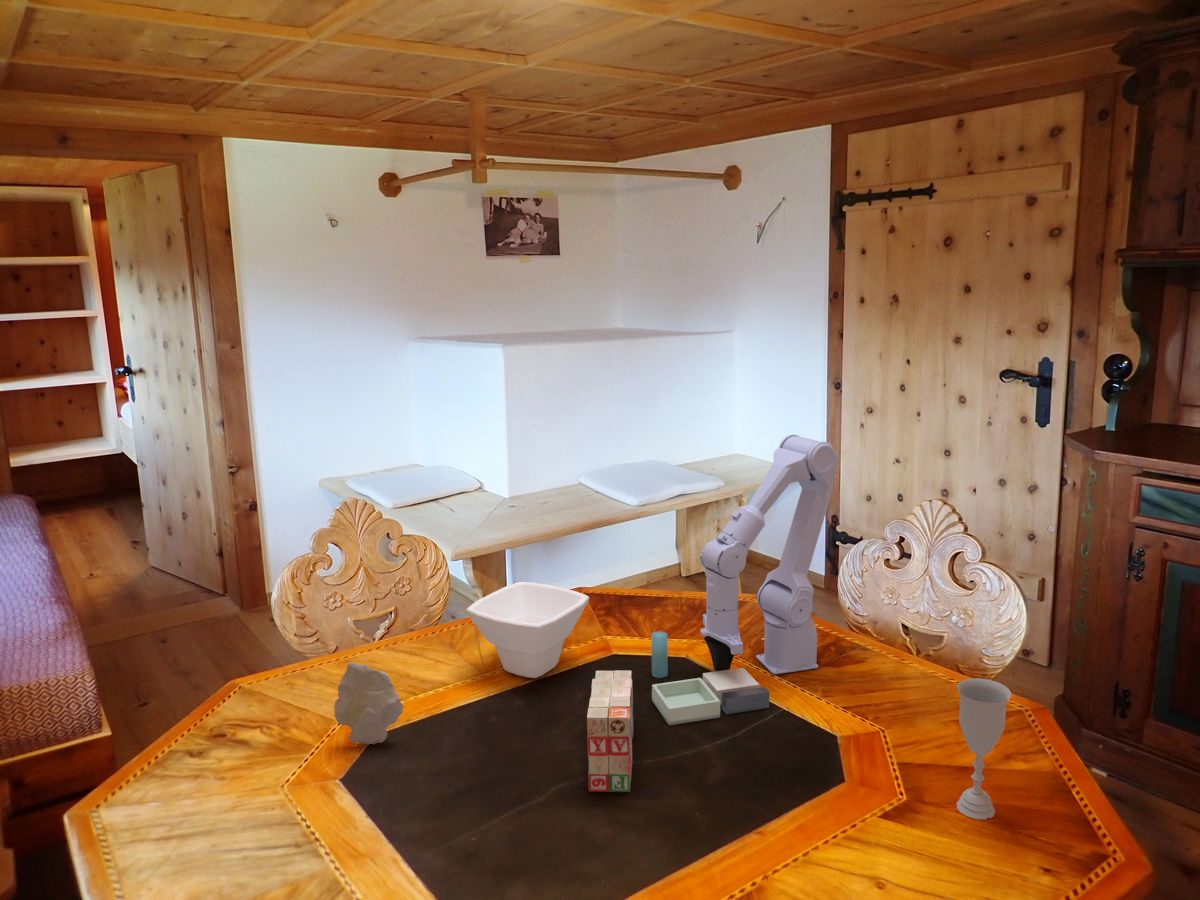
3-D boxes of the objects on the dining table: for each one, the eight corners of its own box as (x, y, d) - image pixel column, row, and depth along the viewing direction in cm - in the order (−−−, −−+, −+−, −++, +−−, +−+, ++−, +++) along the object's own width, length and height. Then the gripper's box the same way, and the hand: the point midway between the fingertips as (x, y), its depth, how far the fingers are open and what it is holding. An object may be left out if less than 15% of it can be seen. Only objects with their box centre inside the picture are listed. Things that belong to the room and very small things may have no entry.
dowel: (664, 669, 170) (664, 630, 168) (669, 676, 167) (669, 636, 166) (649, 671, 169) (649, 632, 168) (654, 678, 166) (654, 638, 165)
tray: (700, 693, 160) (700, 677, 160) (720, 717, 152) (720, 701, 151) (652, 700, 158) (651, 684, 158) (669, 725, 149) (668, 709, 149)
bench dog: (764, 702, 156) (764, 686, 156) (769, 707, 155) (769, 691, 154) (721, 709, 155) (721, 693, 154) (726, 714, 153) (726, 698, 152)
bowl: (599, 661, 174) (597, 594, 171) (540, 703, 158) (537, 629, 155) (523, 642, 184) (520, 578, 181) (460, 679, 168) (456, 609, 165)
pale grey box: (743, 682, 165) (743, 667, 164) (759, 700, 158) (759, 684, 157) (702, 688, 163) (702, 673, 162) (716, 706, 156) (717, 690, 155)
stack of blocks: (597, 720, 152) (595, 653, 150) (633, 720, 152) (632, 653, 149) (588, 792, 131) (586, 716, 129) (630, 793, 131) (629, 716, 128)
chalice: (997, 829, 120) (1007, 707, 117) (944, 814, 124) (952, 695, 120) (1005, 802, 126) (1014, 685, 123) (955, 788, 130) (962, 674, 126)
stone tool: (407, 736, 148) (401, 652, 145) (404, 747, 144) (398, 662, 141) (340, 740, 147) (332, 656, 144) (335, 752, 144) (327, 666, 141)
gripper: (687, 594, 168) (687, 661, 170) (716, 623, 154) (716, 695, 157) (722, 590, 169) (722, 656, 172) (754, 618, 155) (753, 690, 158)
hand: (721, 674), depth 164 cm, fingers closed
